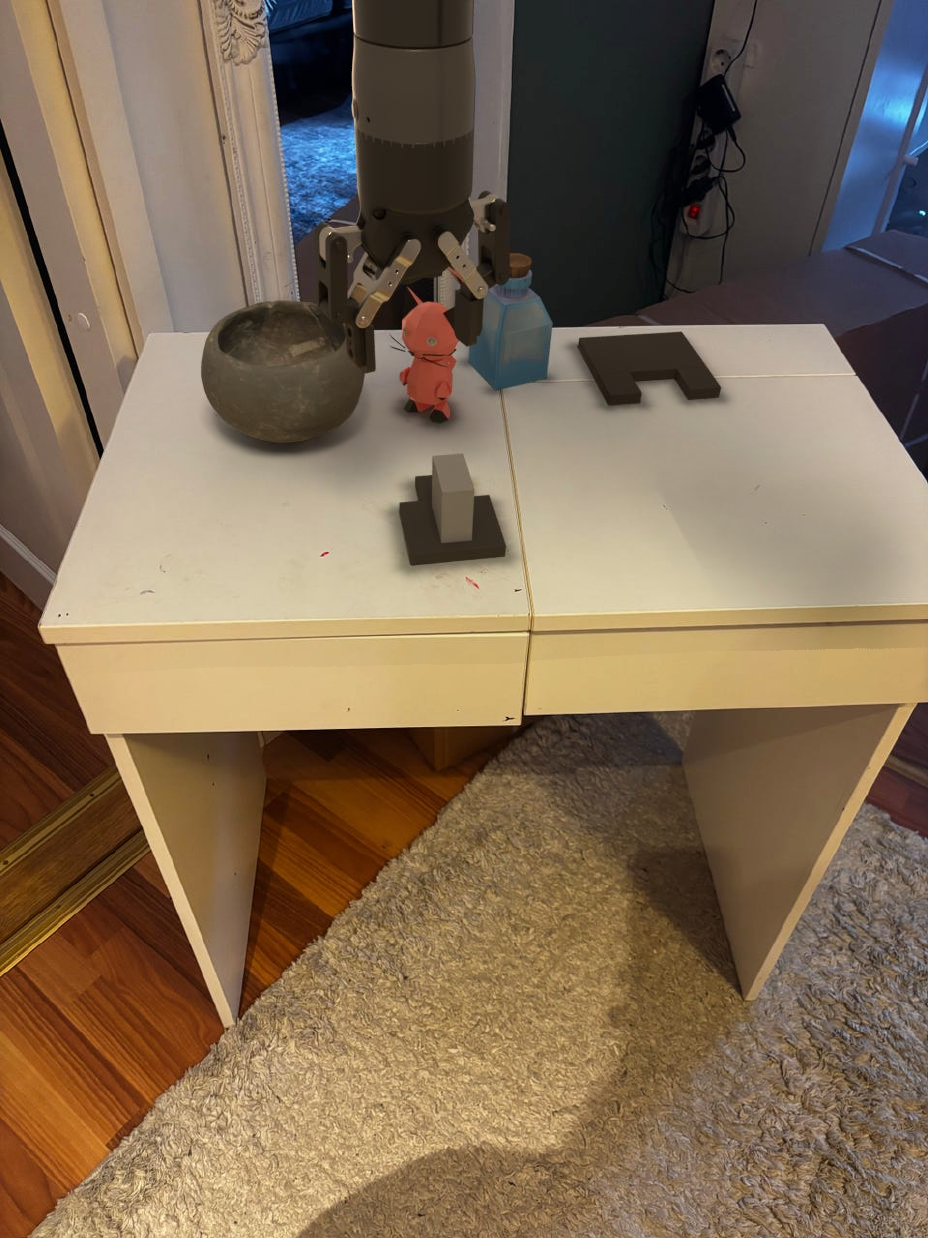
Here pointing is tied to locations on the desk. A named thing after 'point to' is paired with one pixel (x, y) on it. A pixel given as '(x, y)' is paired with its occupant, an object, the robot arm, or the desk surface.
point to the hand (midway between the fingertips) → (416, 354)
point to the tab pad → (428, 534)
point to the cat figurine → (428, 355)
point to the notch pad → (646, 365)
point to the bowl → (280, 371)
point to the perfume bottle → (513, 331)
